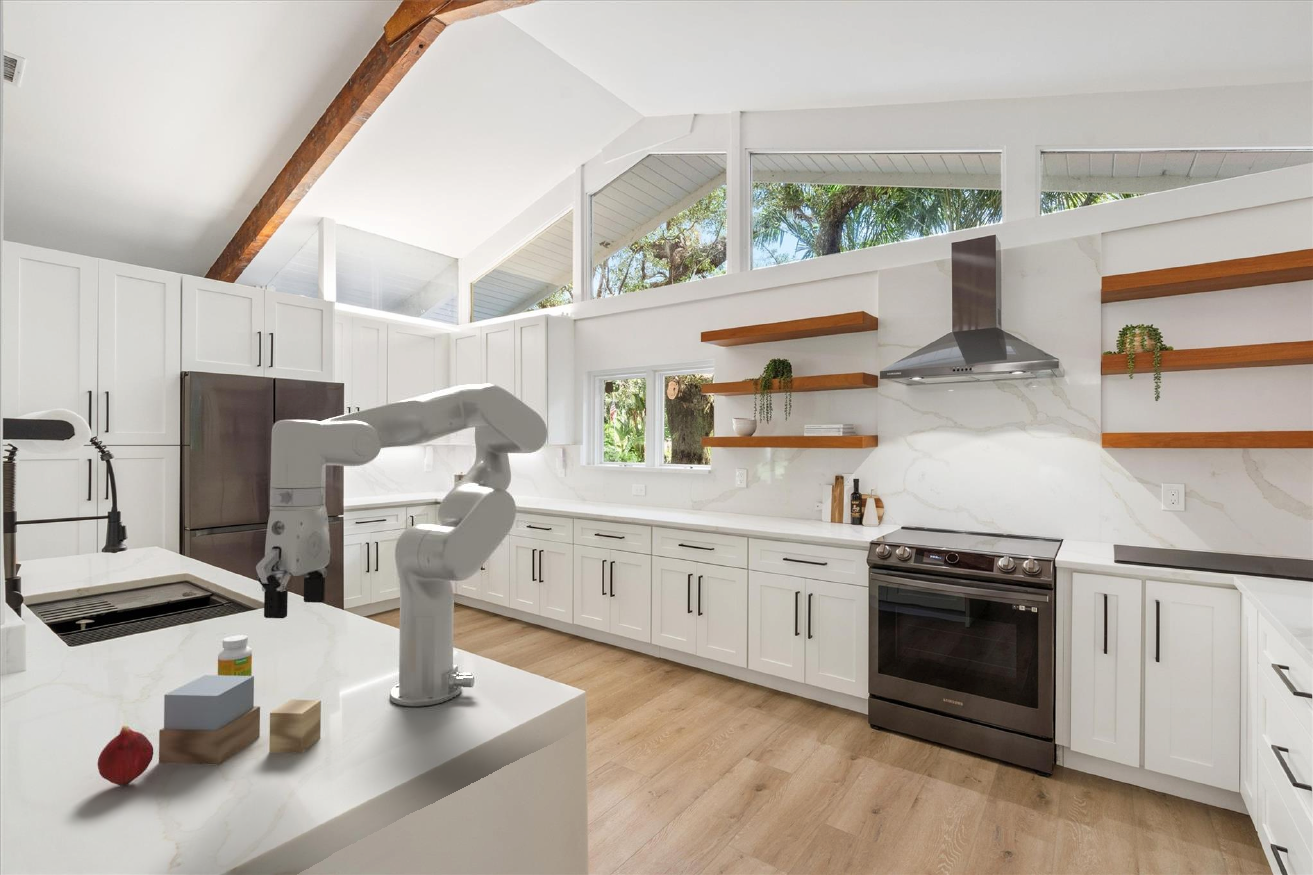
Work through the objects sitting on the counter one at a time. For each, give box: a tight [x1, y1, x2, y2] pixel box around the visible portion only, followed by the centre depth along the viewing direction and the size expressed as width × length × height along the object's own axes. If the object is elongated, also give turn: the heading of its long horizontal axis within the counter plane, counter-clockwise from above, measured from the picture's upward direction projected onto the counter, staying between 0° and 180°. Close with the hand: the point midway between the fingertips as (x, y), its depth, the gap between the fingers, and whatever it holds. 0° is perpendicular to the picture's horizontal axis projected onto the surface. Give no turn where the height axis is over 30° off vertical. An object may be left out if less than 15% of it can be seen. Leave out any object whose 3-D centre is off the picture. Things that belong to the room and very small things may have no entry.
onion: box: [97, 725, 154, 787], centre depth 87 cm, size 6×6×8 cm
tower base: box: [158, 705, 261, 766], centre depth 98 cm, size 9×9×5 cm
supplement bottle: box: [217, 634, 253, 676], centre depth 121 cm, size 5×5×10 cm
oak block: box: [268, 699, 322, 754], centre depth 99 cm, size 5×5×6 cm
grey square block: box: [163, 674, 255, 730], centre depth 98 cm, size 8×8×5 cm
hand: (295, 609), depth 99 cm, fingers open, 9 cm apart
